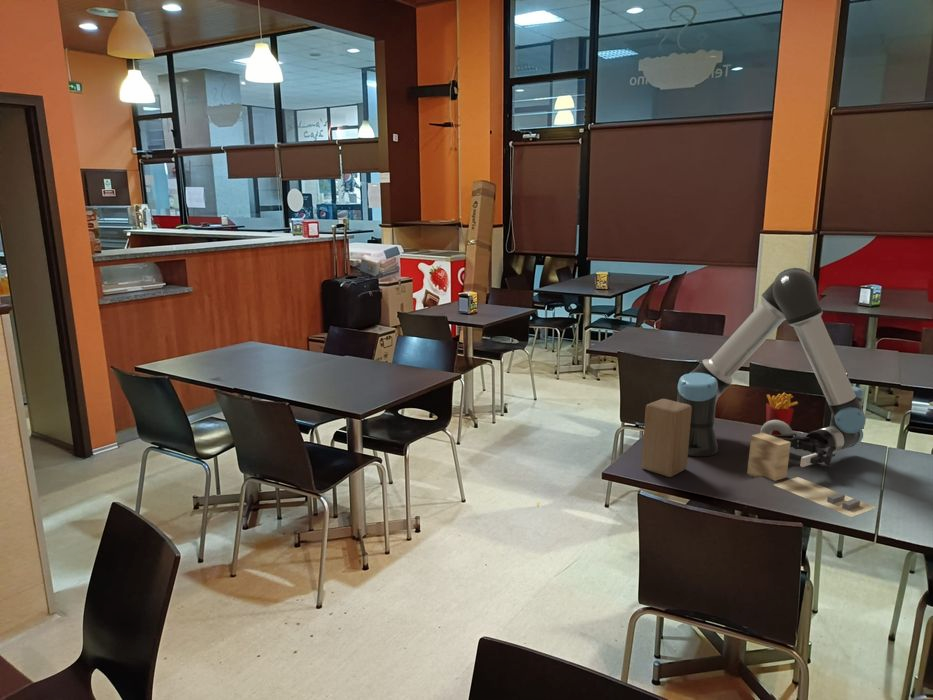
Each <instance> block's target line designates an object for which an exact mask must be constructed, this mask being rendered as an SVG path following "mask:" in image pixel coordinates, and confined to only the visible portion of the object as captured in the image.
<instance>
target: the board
mask: <svg viewBox="0 0 933 700" xmlns="http://www.w3.org/2000/svg"><path fill="white" fill-rule="evenodd" d="M773 486H775V487H777V488H779V489H781V490H784V491H786V492H789V493H792V494H794V495H797V496H799V497H801V498H804V499H806V500H808V501H811V502H813V503H816V504H818V505H821V506H823V507H825V508H828V509H830V510H833V511H835V512H838V513H840V514H843V515H844V516H847V517H849V518H854V517H856V516H859V515H862V514H865V513H867V512H869V511H872V510H874V509H875V510H876V509H877V507H876V506H875V505H872V504H868V503H866V502H863V501H861V500H859V501H860V506H858V507H855V508H853V509H850V510H846V509H844V508H842V504H843V502H846V501H849V500H851V499H854V497H850V496H848V495H846V494H844V495H845V499H844V500H843V501H840V502H837V503H835V504H832V503H829V502H827V499H828V496H831V495H834V494H837V493H839V492H838V491H835V490H832V489H830V488H827V487H825V486H822V485H819V484H818V483H815V482H812V481H810V480H806V479H804V478H801V477H799V476H797V477H793V478H790V479H787V480H784V481H780V482H778V483H774V484H773Z"/></svg>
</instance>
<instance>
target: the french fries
mask: <svg viewBox="0 0 933 700" xmlns="http://www.w3.org/2000/svg"><path fill="white" fill-rule="evenodd" d="M766 397H767V400H768V403H766V404H765V407H766V408H765V410H766V411H765V413H766V415H765V417H766V420H765V421H766V422H768V421H771V420H780V421H783V422H785V423H786V424H787V425H789V427H790V428H791V422H792V419H793V414H794V408H793V406H796V405H798V404H799V402H798V401H793V402H792V401H791V399H792V398H794V396H793V395H792V394H791V393H789V394H787V393H786V392H783V393H778V394H777V395H772V396H771V395H770V394H766ZM766 422H765V423H766ZM771 434H772V435H782V434H781V433H780V432H779V431H777V430H774V431H772V433H771Z"/></svg>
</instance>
